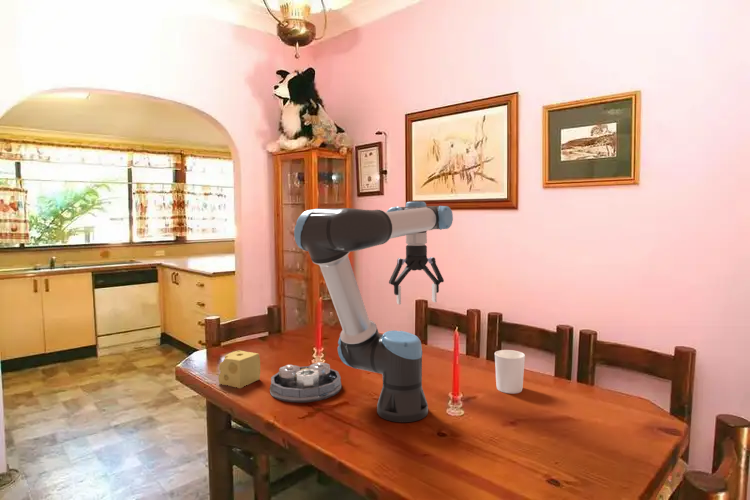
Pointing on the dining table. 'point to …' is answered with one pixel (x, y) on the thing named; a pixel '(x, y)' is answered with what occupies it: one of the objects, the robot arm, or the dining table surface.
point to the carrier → (287, 389)
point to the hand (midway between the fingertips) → (416, 302)
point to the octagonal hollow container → (307, 378)
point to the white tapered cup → (509, 370)
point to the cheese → (239, 369)
